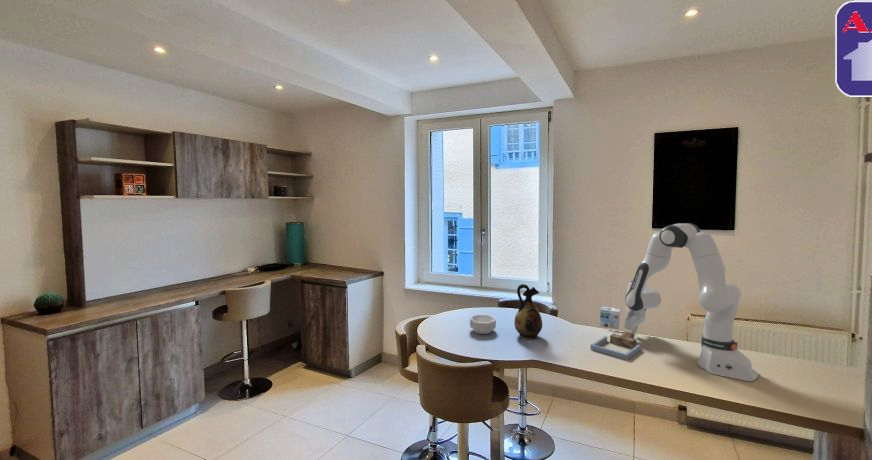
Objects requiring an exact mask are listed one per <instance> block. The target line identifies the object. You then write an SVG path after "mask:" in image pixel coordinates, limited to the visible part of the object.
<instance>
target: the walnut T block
mask: <svg viewBox="0 0 872 460" xmlns="http://www.w3.org/2000/svg"><path fill="white" fill-rule="evenodd" d="M609 343H611V344H613V343H614V345H618V346H621V347H625V348H629V349H633V348H634V347H636V346H637V339H636V338H635V334H634V333H632V332H629V331H625V332H624V333H622V334H621V335H620V334H617V333H612V334H610V335H609Z"/></svg>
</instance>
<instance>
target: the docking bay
mask: <svg viewBox="0 0 872 460" xmlns="http://www.w3.org/2000/svg"><path fill="white" fill-rule="evenodd" d="M607 341H608V336H606V335H605V336H602V337H601V338H600V339H598V340H596V341H595V342H593V343H591V344H590V351H594V352H598V353H601V354H605V355H608V356H611V357H615V358H618V359H622V360H625V361H628V360H629V359H630V358H632V357H633V356H634V355H636V354H637V353H638V352H640V351H641V345H640V344H636V347H634V348H633V349H632V348H630V350H628V351H627V352H626V353H624V352H620V351H617V350H613V349H610V348H606V347H603V346H601V345H603V344H604V343H606V342H607Z"/></svg>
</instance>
